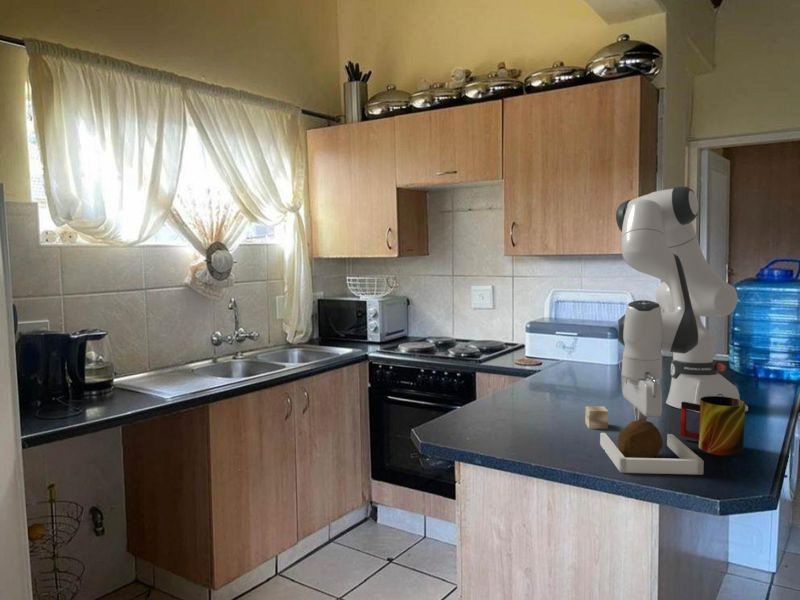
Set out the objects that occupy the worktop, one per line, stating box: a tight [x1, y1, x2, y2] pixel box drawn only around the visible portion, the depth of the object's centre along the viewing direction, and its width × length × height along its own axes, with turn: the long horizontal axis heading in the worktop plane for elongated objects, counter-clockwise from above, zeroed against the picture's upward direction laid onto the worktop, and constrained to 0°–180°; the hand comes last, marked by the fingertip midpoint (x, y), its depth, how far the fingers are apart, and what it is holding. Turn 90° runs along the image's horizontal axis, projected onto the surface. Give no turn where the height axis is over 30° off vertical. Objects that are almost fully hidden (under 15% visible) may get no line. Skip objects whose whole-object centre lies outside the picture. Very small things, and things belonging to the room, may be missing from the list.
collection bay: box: [599, 432, 705, 476], centre depth 143 cm, size 17×19×3 cm
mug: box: [679, 396, 746, 457], centre depth 149 cm, size 10×14×12 cm
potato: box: [617, 420, 664, 458], centre depth 143 cm, size 8×12×9 cm
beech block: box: [584, 405, 609, 430], centre depth 169 cm, size 5×5×5 cm
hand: (640, 425), depth 148 cm, fingers closed
